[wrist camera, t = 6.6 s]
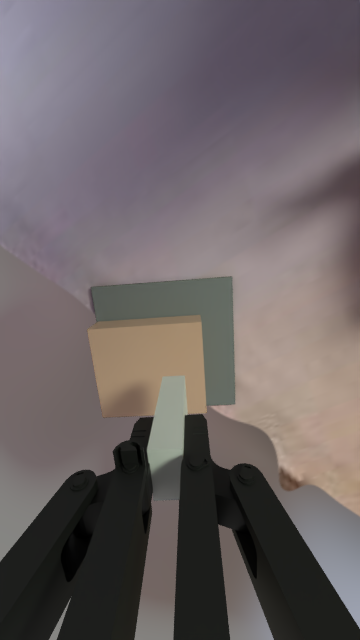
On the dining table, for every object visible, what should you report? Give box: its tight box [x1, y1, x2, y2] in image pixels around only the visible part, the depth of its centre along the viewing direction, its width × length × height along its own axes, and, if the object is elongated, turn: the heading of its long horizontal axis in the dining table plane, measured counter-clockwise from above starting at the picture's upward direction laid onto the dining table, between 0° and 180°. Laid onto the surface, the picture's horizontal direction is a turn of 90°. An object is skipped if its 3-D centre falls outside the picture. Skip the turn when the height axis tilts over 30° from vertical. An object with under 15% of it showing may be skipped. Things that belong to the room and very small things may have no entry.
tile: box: [87, 315, 207, 418], centre depth 22 cm, size 8×2×9 cm
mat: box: [91, 277, 235, 406], centre depth 23 cm, size 12×12×1 cm
